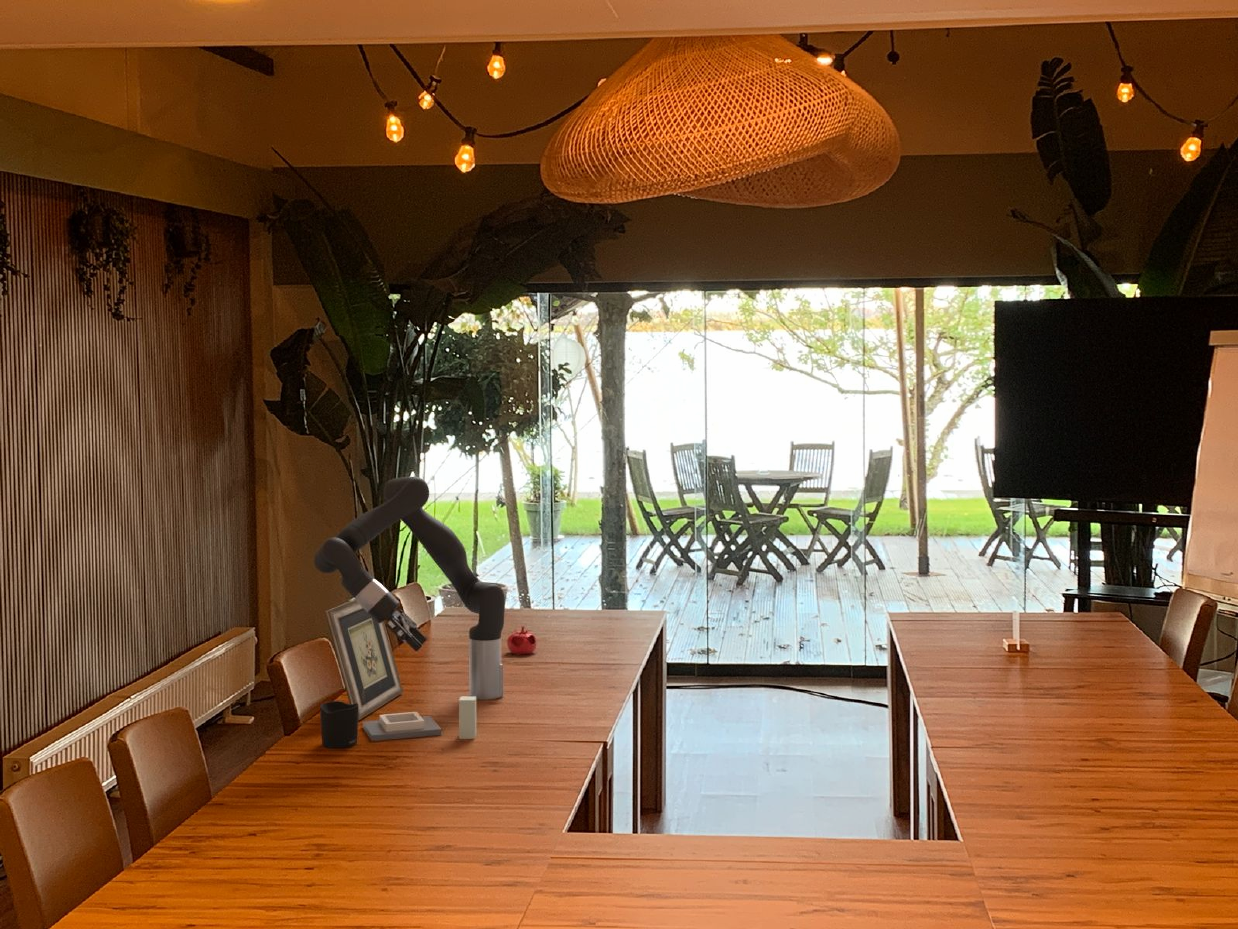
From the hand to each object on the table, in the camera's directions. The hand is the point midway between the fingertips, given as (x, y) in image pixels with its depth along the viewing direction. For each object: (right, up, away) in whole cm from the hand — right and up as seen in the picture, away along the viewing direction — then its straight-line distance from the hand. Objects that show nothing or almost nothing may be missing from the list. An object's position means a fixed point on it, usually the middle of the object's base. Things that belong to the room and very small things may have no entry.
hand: (422, 645), depth 324 cm
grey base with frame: (-6, -23, +7) cm, 25 cm away
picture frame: (-21, -22, +32) cm, 44 cm away
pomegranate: (+17, -18, +105) cm, 108 cm away
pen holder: (-20, -24, -6) cm, 32 cm away
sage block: (+12, -24, +2) cm, 26 cm away
